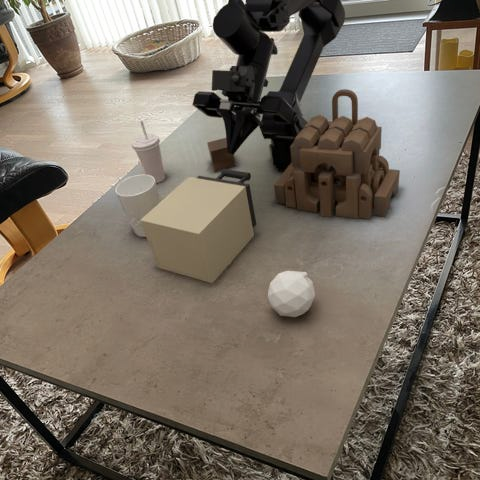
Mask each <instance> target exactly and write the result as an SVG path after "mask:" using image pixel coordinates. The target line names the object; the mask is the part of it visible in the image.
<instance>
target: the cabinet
mask: <svg viewBox="0 0 480 480" xmlns="http://www.w3.org/2000/svg"><path fill="white" fill-rule="evenodd" d="M140 221H141V224H142V227H143V229H144V232H145V235H146V237H145V238H146V240H147V243H148V245H149V248H150V250H151V253H152V256H153V259H154V261H155V263H156V267H157V268H159V269H161V270H165V271H168V272H171V273H175V274H178V275H182V276H185V277H189V278H193V279H195V280H199V281H203V282H205V283H210V284H214V282H216V280H217V279H218V278H219V277H220V276H221V274H222V273H223V272H224V271H225V270H226V269H227V267H228V266H229V265H230V264H231V263H232V262H233V260H234V259H236V257H237V256H238V255H239V254H240V253H241V252H242V250H243V249H244V248H245V247H246V246H247V245H248V243H249V242H250V241H251V240H253V238H254V237H255V232H254V228H253V226H252V221H251V215H250V210H249V204H248V198H247V193H246V187H245V186H240V185H234V184H228V183H222V182H216V181H210V180H204V179H198V178H197V177H192V176H188V177H186V179H184V180H183V181H182V182H180V184H179V185H178V186H176V188H174V189H173V190H172V191H171V192H170V193H169V194H167V196H165V197H164V198H163V199H162V200H161V202H160V203H159V204H158V205H157V206H155V207H154V208H153V209H152V210H151V211H150V212H149V213H148V214H146V215H145V216H144V217H143V218H142V219H141V220H140Z"/></svg>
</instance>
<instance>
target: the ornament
mask: <svg viewBox="0 0 480 480" xmlns="http://www.w3.org/2000/svg"><path fill="white" fill-rule="evenodd" d="M314 287H315V286H314V283H313V281H312V280H311V279H310V278H309V277H308V272H307V271H296V270H284V271H282V272H278V274H277V275H276V276H274V278H273V279H272V280H271V282H270V283H269V285H268V291H267V299H268V302H269V306H270V307H271V308H272V309H273V310H274V311H275V312H276V313H277V314H279V316H280V317H290V318H297V317H299V316H302V315H304V314H305V313H306V312H308V311H309V310H310V308H311V307H312V304H313V302H314V299H315V297H316V294H315V288H314Z"/></svg>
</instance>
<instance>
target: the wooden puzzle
mask: <svg viewBox="0 0 480 480" xmlns="http://www.w3.org/2000/svg"><path fill="white" fill-rule="evenodd" d="M340 97H348V98H349V99H350V101H351V118H349V117H347V116H344V115H341V116H339V98H340ZM331 98H332V99H331V114H332V115H331V116H332V118H331V119H332V120H328V118H327V117H325V116H323V115H321V114H318V115H316V116H313V117H311V118H310V119H309V121H307V122H308V123H307V124H306V126H305V128H304V129H302V130H301V132H300V133H299V134H298V135H297V136H296V138H295V140H294V143H293V144H292V145H291V146H290V149H291V159H292V162H291V164H290V165H289V166H288V168H287V169H286V170H283V171H284V172H282V174H281V175H280V176H279V178H277V180H276V181H275V182H274V184H273V190H274V196H275V197H274V198H275V203H276V204H282V205H286V207H287V208H296V210H297V211H303V212H311V213H318V212H319V210H320V216H321V217H325V218H326V217H327V218H331V217H332V216H333V215H334V213H335V216H336V217H342V218H343V217H344V218H350V219H358V218H360V219H366V220H370V219H371V217H372V215H373V216H379V217H386V214H387V213H388V211H389V209H390V203H391V198H392V197H396V195H397V193H398V191H399V188H400V174H401V173H400V171H401V170H400V169H390V165H389V161H388V160H387V158H385V157H384V156H383V155H380V150H381V148H382V132H383V131H382V126H378V125H377V122H376V120H375V119H373V118H371V117H368V116H366V117H363V118H360V119H359V101H358V96H357V94H356V93H355V92H354V91H353V90H351V89H348V88H347V89H345V88H344V89H339V90H337V91H336V92H335V93H334V94H333V96H332V97H331ZM339 182H340V184H338V183H339ZM335 202H337V205H336V206H335Z"/></svg>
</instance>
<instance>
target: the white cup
mask: <svg viewBox="0 0 480 480" xmlns="http://www.w3.org/2000/svg"><path fill="white" fill-rule="evenodd" d="M158 189H159V188H158V185H157V183H156V182H155V179H154V177H153V176H151V175H147V174H146V173H145V174H144V173H143V174H135V175H132V176H129V177H126V178H125V179H123V180H121V181H119V183H118V184H117V185H116V187H115V190H114V191H115V194H116V196H117V198H118V200H119V203H120V205H121V208H122V210H123V211H124V213H125V215H126V219H127V220H128V221H129V223H130V225H131V227H132V230H133V232H134V234H135V235H137V236H138V237H142V238H147V237H146V235H145V232H144V229H143V227H142V224H141V221H140V220H141V219H142V218H143V217H144V216H145V215H146V214H148V213H149V212H150V211H151V210H152V209H153V208H154V207H155V206H157V205H158V204H159V203H160V202H161V201H162V200H161V197H160V193H159V190H158Z"/></svg>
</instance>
